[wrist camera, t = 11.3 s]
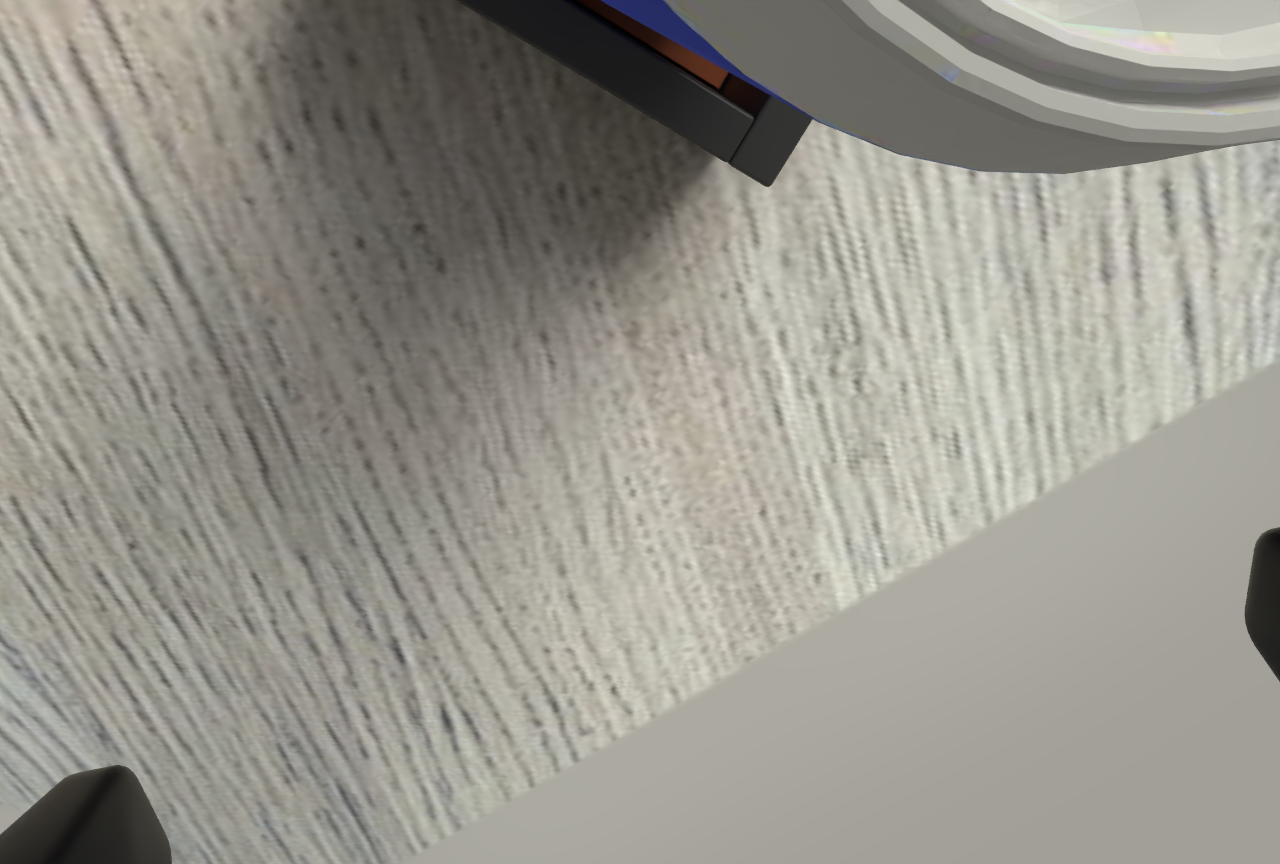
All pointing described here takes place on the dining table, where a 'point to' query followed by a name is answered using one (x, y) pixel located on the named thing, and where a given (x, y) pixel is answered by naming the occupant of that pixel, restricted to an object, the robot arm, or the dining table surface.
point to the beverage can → (1003, 73)
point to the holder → (658, 79)
